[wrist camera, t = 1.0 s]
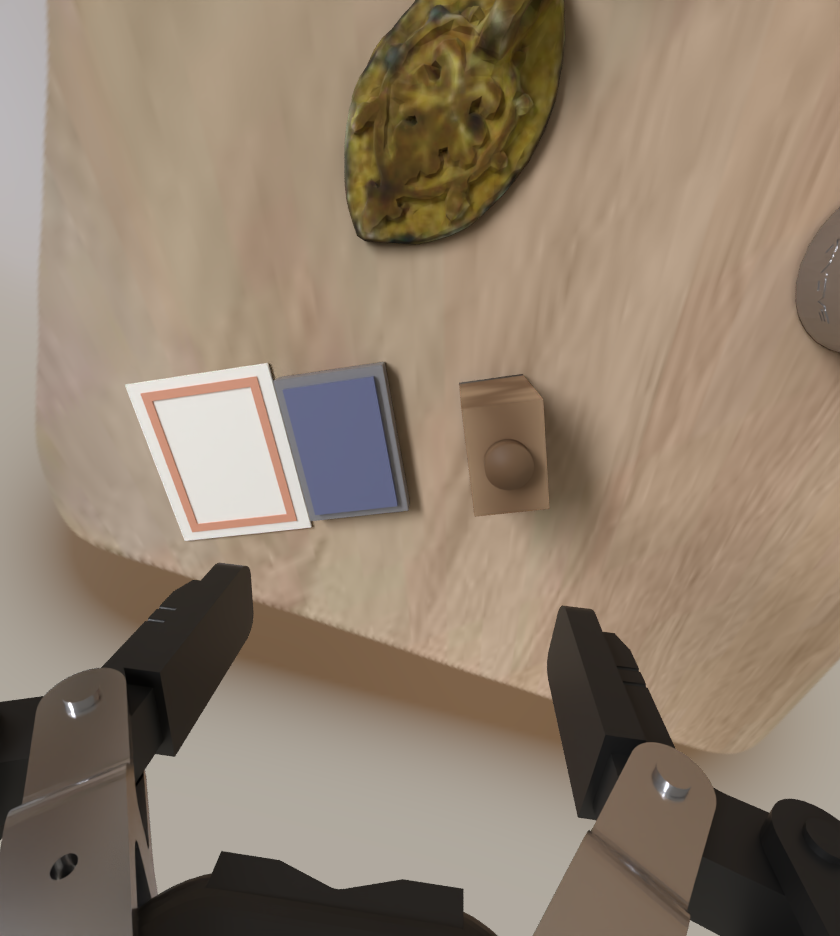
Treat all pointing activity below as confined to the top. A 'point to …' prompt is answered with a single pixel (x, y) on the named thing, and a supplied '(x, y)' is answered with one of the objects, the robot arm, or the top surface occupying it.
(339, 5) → the top surface
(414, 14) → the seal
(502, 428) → the stamp
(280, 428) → the paper sheet
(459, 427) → the top surface
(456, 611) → the top surface
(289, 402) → the ink pad
